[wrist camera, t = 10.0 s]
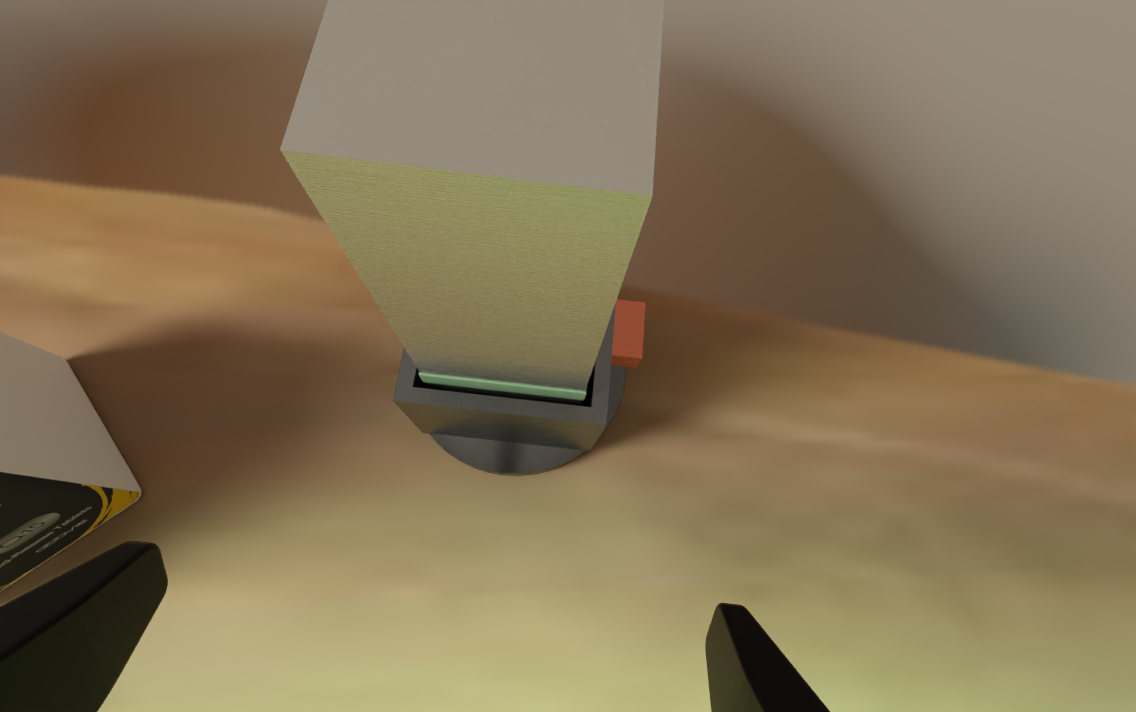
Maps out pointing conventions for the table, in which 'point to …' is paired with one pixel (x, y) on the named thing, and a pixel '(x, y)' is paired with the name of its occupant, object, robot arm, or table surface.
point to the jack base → (527, 409)
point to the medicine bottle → (51, 461)
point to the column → (485, 175)
